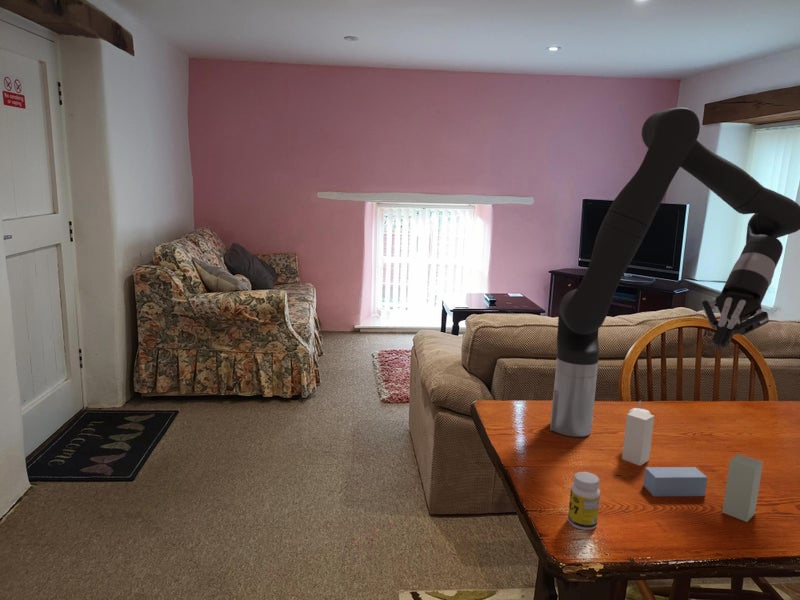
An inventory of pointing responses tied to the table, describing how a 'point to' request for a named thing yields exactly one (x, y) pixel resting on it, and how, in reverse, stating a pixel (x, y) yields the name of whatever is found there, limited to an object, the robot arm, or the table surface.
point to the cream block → (638, 437)
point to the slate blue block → (675, 481)
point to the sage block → (742, 487)
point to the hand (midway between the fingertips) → (718, 346)
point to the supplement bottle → (584, 501)
